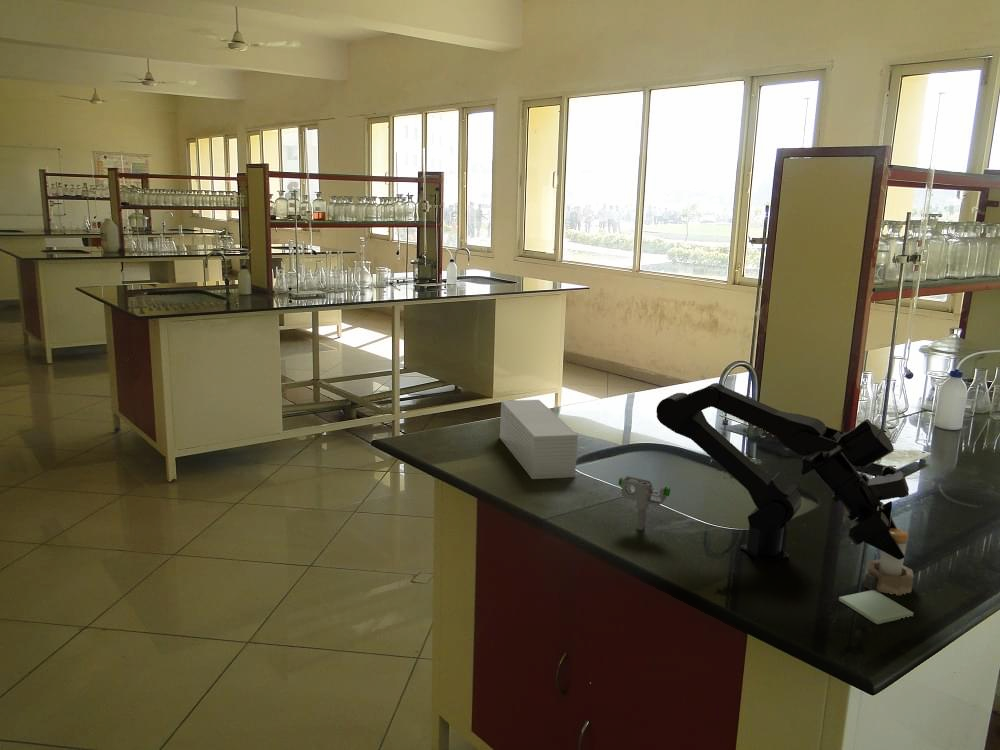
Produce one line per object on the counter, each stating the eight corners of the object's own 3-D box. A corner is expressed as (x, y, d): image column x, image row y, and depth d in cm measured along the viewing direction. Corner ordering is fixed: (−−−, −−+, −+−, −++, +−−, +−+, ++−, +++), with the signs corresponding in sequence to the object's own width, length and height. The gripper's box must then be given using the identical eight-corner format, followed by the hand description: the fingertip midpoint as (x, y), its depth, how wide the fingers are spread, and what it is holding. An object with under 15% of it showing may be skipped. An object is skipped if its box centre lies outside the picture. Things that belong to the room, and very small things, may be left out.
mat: (876, 624, 125) (877, 620, 125) (838, 600, 132) (839, 596, 132) (913, 616, 128) (913, 612, 128) (873, 592, 135) (874, 589, 135)
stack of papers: (499, 438, 213) (501, 400, 210) (536, 437, 215) (538, 399, 213) (532, 480, 183) (534, 436, 180) (575, 477, 185) (578, 434, 183)
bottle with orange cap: (888, 591, 136) (897, 538, 133) (871, 581, 139) (879, 529, 137) (904, 588, 137) (913, 535, 135) (886, 578, 141) (895, 526, 138)
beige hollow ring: (884, 598, 133) (887, 582, 132) (851, 579, 140) (853, 563, 139) (919, 591, 136) (922, 575, 136) (886, 572, 143) (888, 557, 142)
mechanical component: (662, 537, 154) (667, 489, 152) (614, 525, 159) (617, 478, 156) (667, 532, 156) (671, 485, 154) (619, 520, 161) (622, 474, 159)
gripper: (881, 471, 127) (946, 550, 124) (885, 442, 143) (943, 511, 140) (823, 506, 132) (884, 582, 129) (833, 474, 148) (888, 541, 146)
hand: (902, 552), depth 136 cm, fingers open, 5 cm apart
